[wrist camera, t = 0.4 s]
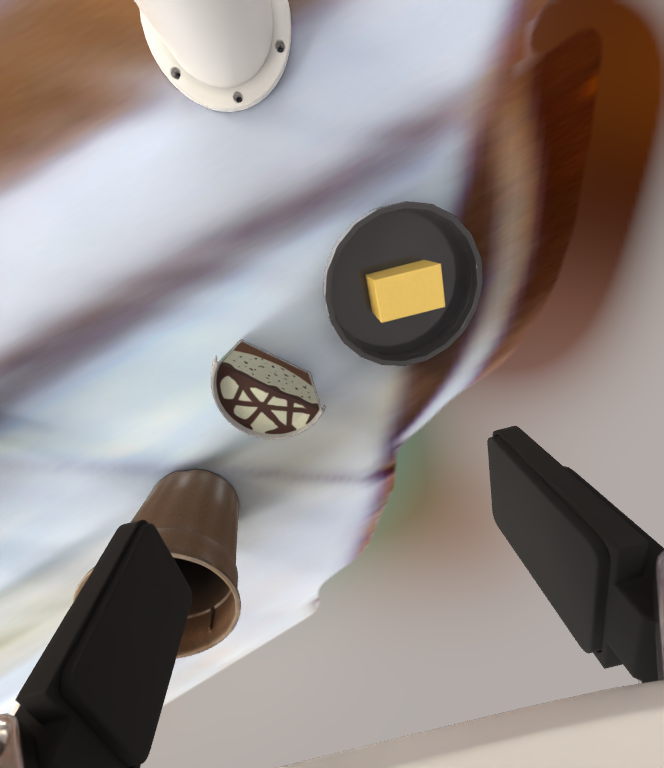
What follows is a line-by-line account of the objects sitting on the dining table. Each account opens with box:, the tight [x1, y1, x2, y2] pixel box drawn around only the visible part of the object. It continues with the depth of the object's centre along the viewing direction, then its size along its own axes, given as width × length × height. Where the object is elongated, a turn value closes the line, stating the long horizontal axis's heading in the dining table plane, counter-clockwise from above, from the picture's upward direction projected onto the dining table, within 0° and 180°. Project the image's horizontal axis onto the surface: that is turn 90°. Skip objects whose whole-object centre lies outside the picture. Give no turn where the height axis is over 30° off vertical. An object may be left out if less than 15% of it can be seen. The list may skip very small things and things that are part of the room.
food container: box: [211, 340, 325, 439], centre depth 41 cm, size 12×6×10 cm, turn 61°
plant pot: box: [73, 469, 241, 658], centre depth 45 cm, size 16×16×16 cm
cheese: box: [365, 260, 445, 323], centre depth 40 cm, size 4×7×5 cm, turn 103°
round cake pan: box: [323, 201, 483, 366], centre depth 41 cm, size 17×17×4 cm
